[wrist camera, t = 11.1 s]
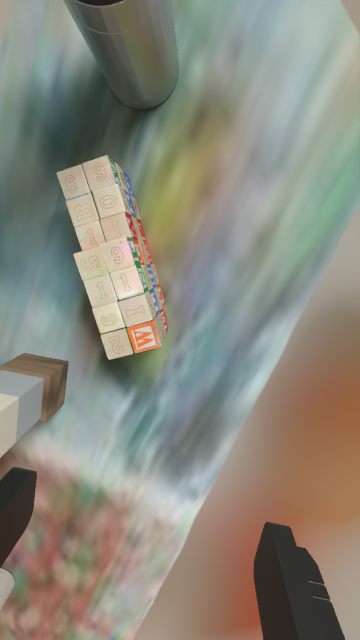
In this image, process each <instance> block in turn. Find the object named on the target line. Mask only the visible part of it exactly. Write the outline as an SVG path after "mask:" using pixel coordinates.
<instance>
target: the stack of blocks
mask: <svg viewBox="0 0 360 640" xmlns="http://www.w3.org/2000/svg"><path fill="white" fill-rule="evenodd" d="M57 177H58V180H59V183H60V186H61V189H62V192H63V194H64V197H65V199H66V205H67V208H68V211H69V214H70V216H71V219H72V222H73V225H74V227H75V232H76V235H77V238H78V240H79V243H80V246H81V249H82V251H80V252H77V253H74V254H73V256H74V259H75V261H76V264H77V267H78V270H79V273H80V276H81V279H82V281H83V282H84V285H85V288H86V291H87V294H88V297H89V300H90V303H91V305H92V311H93V314H94V317H95V320H96V323H97V326H98V329H99V332H100V334H101V339H102V342H103V345H104V348H105V352H106V355H107V358H108V360H111V359H115V358H119V357H123V356H127V355H131V354H133V353H134V352H135V353H139V352H143V351H147V350H150V349H154V348H158V347H161V345H162V342H163V340H164V338H165V336H166V332H167V329H168V328H169V326H170V321H169V317H168V314H167V310H166V306H165V301H164V297H163V294H162V290H161V287H160V284H159V279H158V276H157V272H156V269H155V265H154V263H153V262H152V258H151V255H150V251H149V247H148V244H147V242H146V239H145V235H144V231H143V228H142V225H141V222H140V221H141V218H140V214H139V211H138V207H137V204H136V200H135V198H134V195H133V191H132V188H131V184H130V181H129V177H128V175H127V174H126V173H125V172H124V171H123V170H122V168H121V167H120V166H119V165H118V164H117V163H114V161H113V160H112V159H111V158H110V157H109V156H108V155H106V156H103V157H100V158H97V159H94V160H91V161H88V162H85V163H82V164H81V165H77V166H74V167H71V168H68V169H66V170H63V171H59V172H57Z"/></svg>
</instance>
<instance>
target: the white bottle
mask: <svg viewBox="0 0 360 640" xmlns="http://www.w3.org/2000/svg"><path fill="white" fill-rule="evenodd" d="M14 586H15V581H14V578H13V576H12V575H11V574H10V573H9V572H8V571H7V570H5V569H2V568H0V610H1V609H2V607H3V605H4V604H5V602H6V600H7V598H8V597H9V595H10V594H11V592H12V590H13V588H14Z"/></svg>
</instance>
